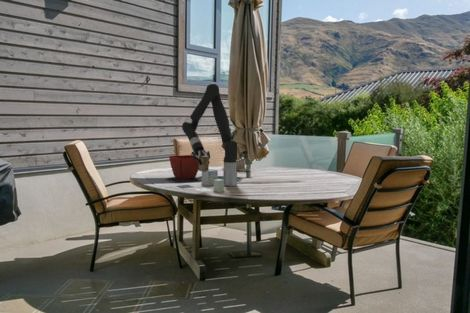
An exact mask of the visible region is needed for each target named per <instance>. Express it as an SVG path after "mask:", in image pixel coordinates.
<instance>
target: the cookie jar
mask: <svg viewBox="0 0 470 313" xmlns="http://www.w3.org/2000/svg"><path fill="white" fill-rule="evenodd" d="M246 166H247V165H246V163H244V159H241V160H239V161H236V171H243V172H247V171H246ZM223 170H224V164H222V171H223Z"/></svg>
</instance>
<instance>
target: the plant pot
mask: <svg viewBox="0 0 470 313" xmlns="http://www.w3.org/2000/svg"><path fill="white" fill-rule="evenodd" d="M196 157H197V156H196ZM168 158H169V163H170V168H171V170H172V173H173V176H174V178H176V179H180V180H186V179H195V178H196V177H197V175H198V172H199V170H198V165H199V163H198V161H197V160H196V161H195V160H194V159H193V157H192V156H191V154H185V155H184V154H181V155H170V156H169V157H168Z"/></svg>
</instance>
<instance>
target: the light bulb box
mask: <svg viewBox="0 0 470 313" xmlns="http://www.w3.org/2000/svg"><path fill="white" fill-rule="evenodd" d="M218 172H219V171H218V169H215V168H210V169H209V171H201V185H204V186H211V185H214V180H215V179H218V174H219V173H218Z"/></svg>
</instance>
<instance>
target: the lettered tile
mask: <svg viewBox="0 0 470 313" xmlns="http://www.w3.org/2000/svg"><path fill="white" fill-rule="evenodd" d="M195 190H196V191H198V192H211V191H212V189H210V188H207V187H204V188H196V189H195Z"/></svg>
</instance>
